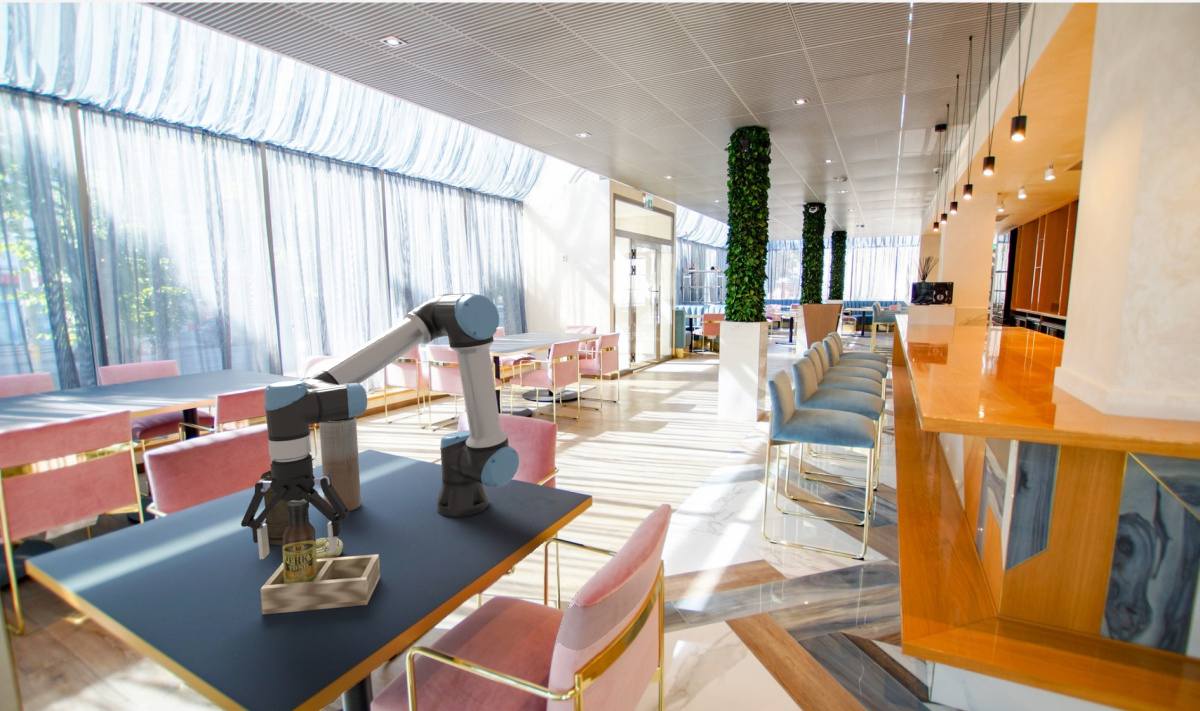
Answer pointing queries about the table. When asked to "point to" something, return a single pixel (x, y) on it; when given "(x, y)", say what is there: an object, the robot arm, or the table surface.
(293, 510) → the sauce bottle
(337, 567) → the caddy
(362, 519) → the table surface
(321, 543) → the decorated donut
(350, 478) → the vase
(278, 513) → the container
